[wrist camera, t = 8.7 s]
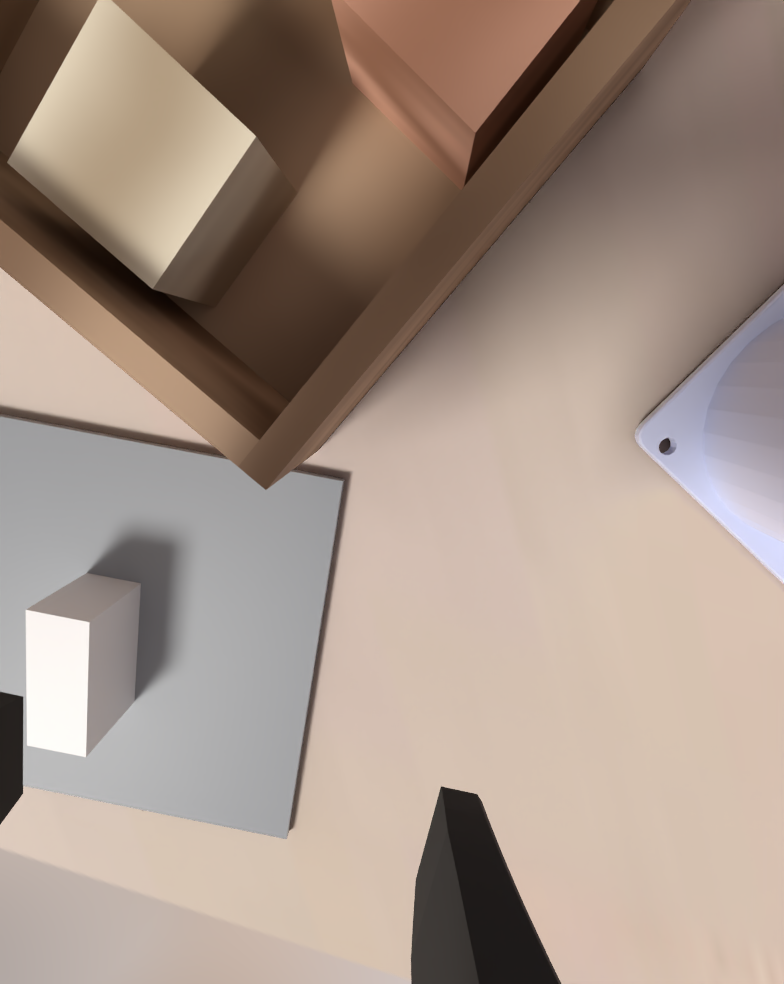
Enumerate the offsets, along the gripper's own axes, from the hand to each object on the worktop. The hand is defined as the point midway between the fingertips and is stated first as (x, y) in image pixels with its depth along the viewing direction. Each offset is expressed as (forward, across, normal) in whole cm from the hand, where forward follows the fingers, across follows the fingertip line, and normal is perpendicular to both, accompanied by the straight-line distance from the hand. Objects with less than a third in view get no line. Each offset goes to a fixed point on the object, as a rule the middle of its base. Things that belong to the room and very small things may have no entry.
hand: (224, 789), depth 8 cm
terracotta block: (+9, -1, -15) cm, 17 cm away
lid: (+10, +8, +4) cm, 13 cm away
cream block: (+9, +5, -11) cm, 15 cm away
